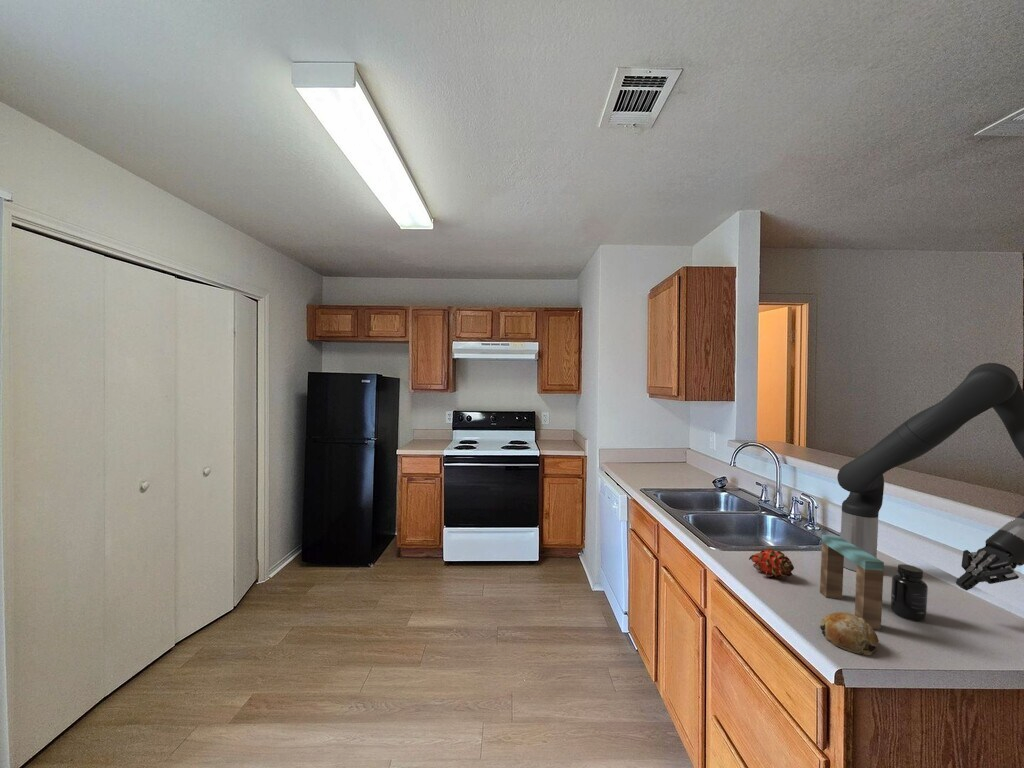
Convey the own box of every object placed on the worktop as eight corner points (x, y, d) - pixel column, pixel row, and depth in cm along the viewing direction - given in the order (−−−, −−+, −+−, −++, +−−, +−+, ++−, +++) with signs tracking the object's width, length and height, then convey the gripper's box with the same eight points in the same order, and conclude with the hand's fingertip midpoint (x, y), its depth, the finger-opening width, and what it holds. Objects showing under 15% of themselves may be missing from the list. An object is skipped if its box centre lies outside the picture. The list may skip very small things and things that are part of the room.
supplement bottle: (883, 608, 116) (885, 562, 116) (907, 607, 117) (909, 562, 117) (908, 622, 110) (910, 573, 109) (934, 622, 110) (936, 573, 110)
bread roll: (848, 671, 95) (868, 647, 92) (805, 628, 104) (822, 604, 101) (876, 661, 99) (895, 637, 96) (832, 620, 108) (849, 597, 105)
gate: (819, 592, 124) (822, 534, 124) (835, 593, 124) (837, 535, 123) (862, 628, 106) (865, 560, 106) (880, 629, 106) (883, 562, 106)
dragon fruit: (796, 589, 129) (751, 581, 137) (800, 565, 134) (756, 558, 143) (788, 569, 126) (742, 562, 134) (792, 545, 131) (748, 540, 140)
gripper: (981, 521, 117) (928, 564, 118) (1034, 538, 104) (973, 587, 105) (1003, 543, 116) (949, 586, 118) (1059, 563, 103) (997, 611, 105)
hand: (960, 586), depth 112 cm, fingers closed
